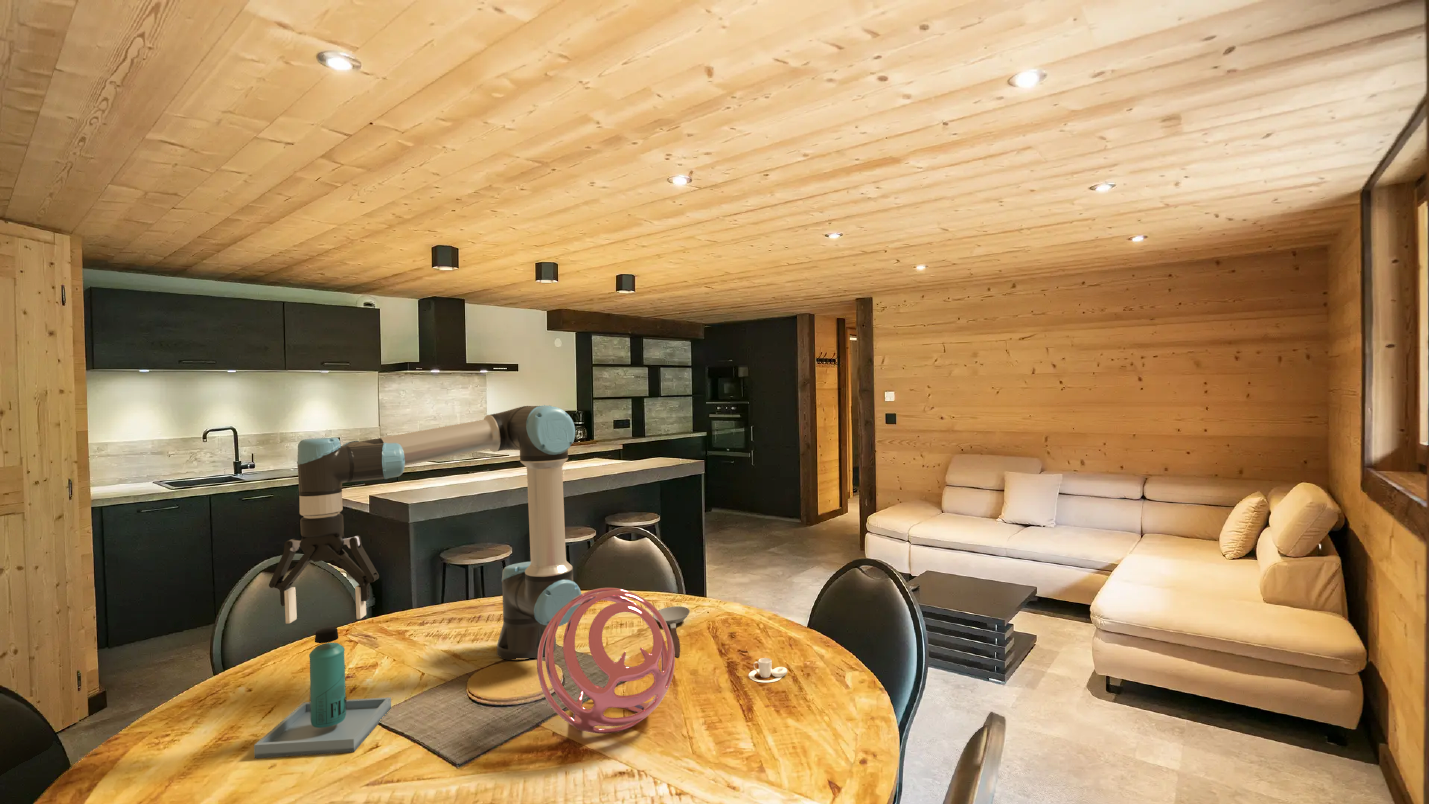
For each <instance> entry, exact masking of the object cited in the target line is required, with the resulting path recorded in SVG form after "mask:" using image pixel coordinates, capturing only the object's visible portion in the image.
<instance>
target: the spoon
mask: <svg viewBox="0 0 1429 804" xmlns="http://www.w3.org/2000/svg"><path fill="white" fill-rule="evenodd" d="M657 610H658V609H657ZM658 611H659V612H660V614H661V615H662V616H663V618H664V620H665V621H666V623H667V626H669V627H670V628H669V629H670V633H671V636H672V640H673V644H674V651H675V658H679V657H680V656H681V655H680V654H681V643H680V638H679V636H678V631H677V624H679V623H682V622H683V621H684V620H685V619H686V618H688V616H689V614H690V612H691V611H690V609H689V608H688V607H685V606H669V607H668V606H667V607H663V608H661V609H659V610H658ZM652 617H653V618H654V619H655V621H656V622H657V623H659V624H660V622H659V621H658V619H657V618H656V617H655V615H654V614H653V613H652Z"/></svg>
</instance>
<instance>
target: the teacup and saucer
mask: <svg viewBox="0 0 1429 804" xmlns="http://www.w3.org/2000/svg"><path fill="white" fill-rule="evenodd" d="M772 662H773V661H772V659H771V658H769V657H762V658H759V659H758V661H754V662H753V668H754V669H753V670H751V671H750V672H749V673H748V678H749V679H750V680H752V681H754V682H756V683H757V682H758V683H765V684H766V683H767V684H768V683H775V682H777V681H780V680H781V679H782V678H783V677H785V676H786V675H787V674H788V668H786V667H784V666H777V667H775V668H772V667H773V666H772ZM755 664H758V668H756V666H755ZM756 674H759V676H760V678H763V679H768V678H770V677H771V675H772V676H773V677H775V678H774V679H770V680H762V679H758V678H756V677H755V675H756Z"/></svg>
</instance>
